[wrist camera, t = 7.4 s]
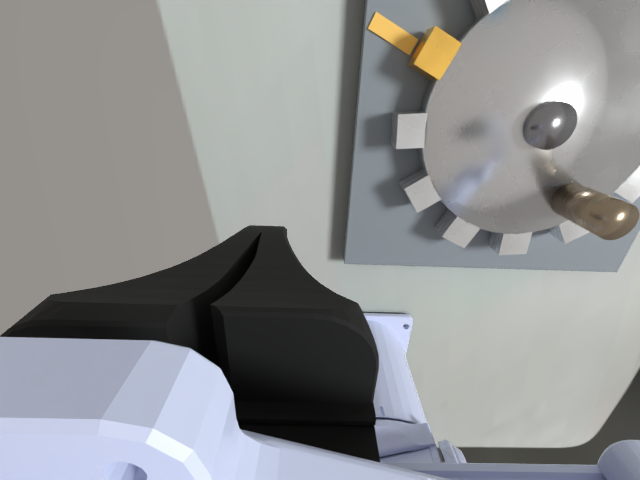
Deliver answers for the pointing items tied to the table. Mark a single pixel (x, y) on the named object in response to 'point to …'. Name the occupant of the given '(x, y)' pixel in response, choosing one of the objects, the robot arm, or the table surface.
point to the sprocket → (529, 122)
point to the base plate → (397, 164)
